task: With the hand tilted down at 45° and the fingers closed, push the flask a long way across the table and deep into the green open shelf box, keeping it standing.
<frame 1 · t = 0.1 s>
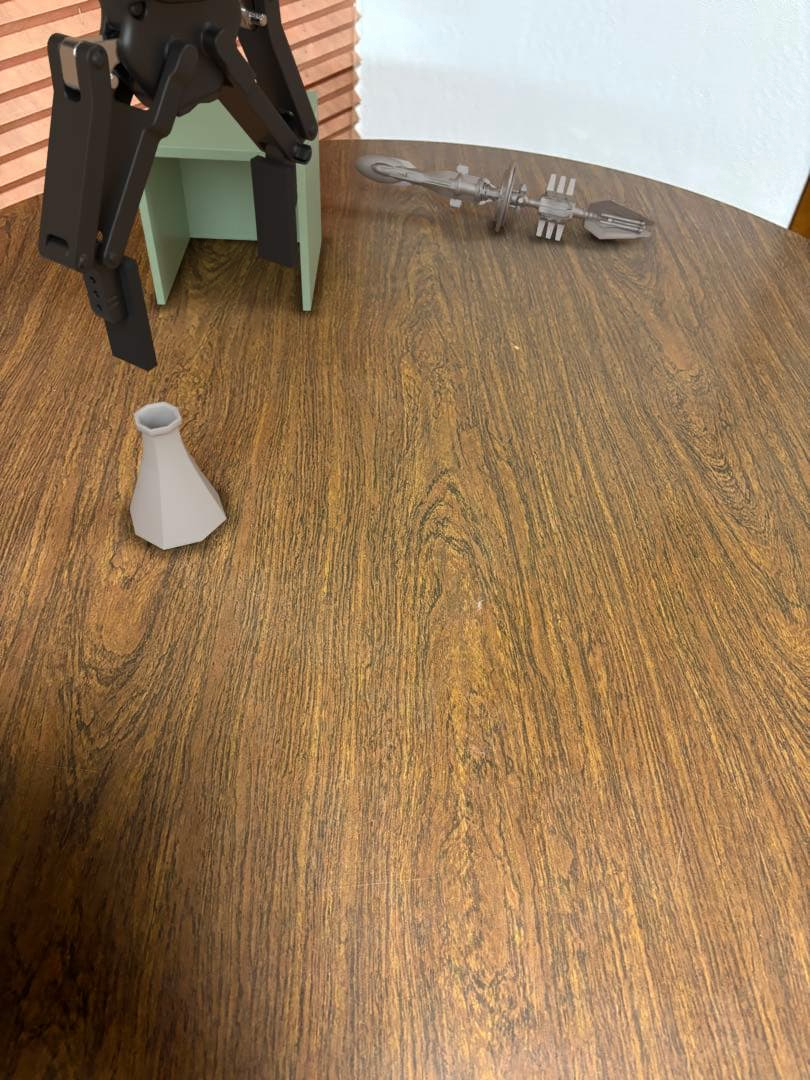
hand: (212, 307, 53), 19 cm above the table, tool pointing down, fingers open, 13 cm apart
flask: (178, 518, 67), on the table
green open shelf box: (243, 272, 92), on the table
spaceship: (498, 230, 102), on the table
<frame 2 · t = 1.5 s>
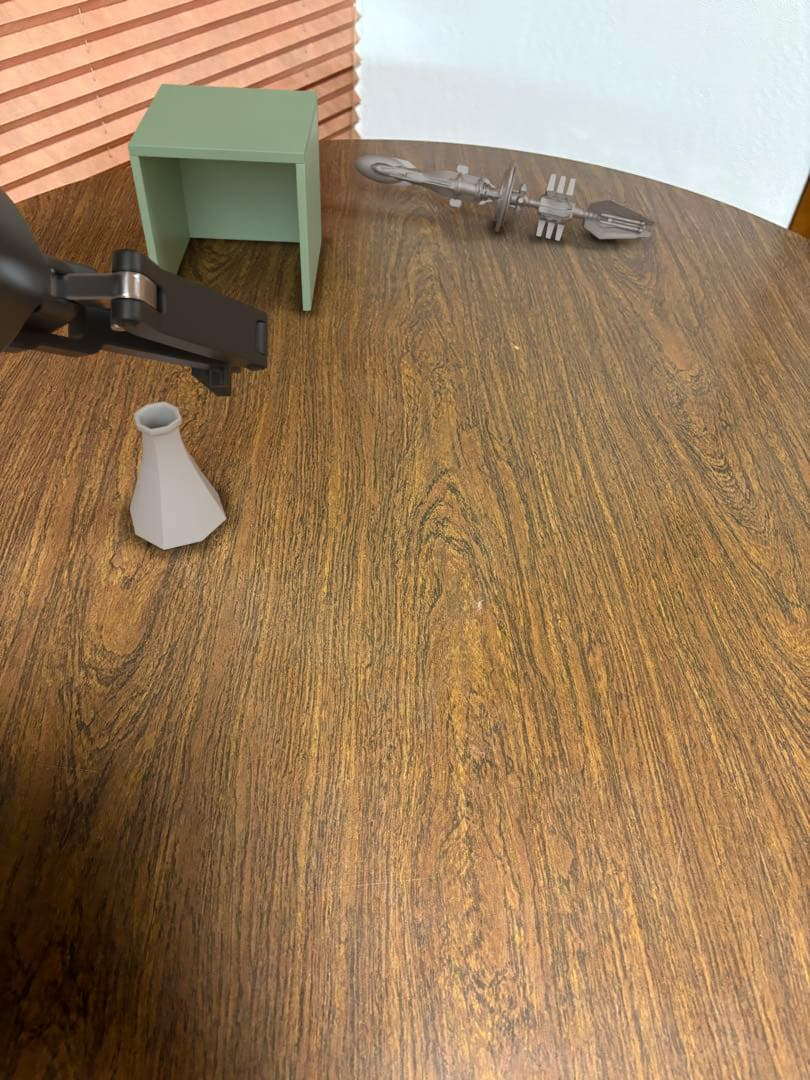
hand: (97, 369, 46), 20 cm above the table, tool tilted 45°, fingers open, 13 cm apart
nothing on the table moved.
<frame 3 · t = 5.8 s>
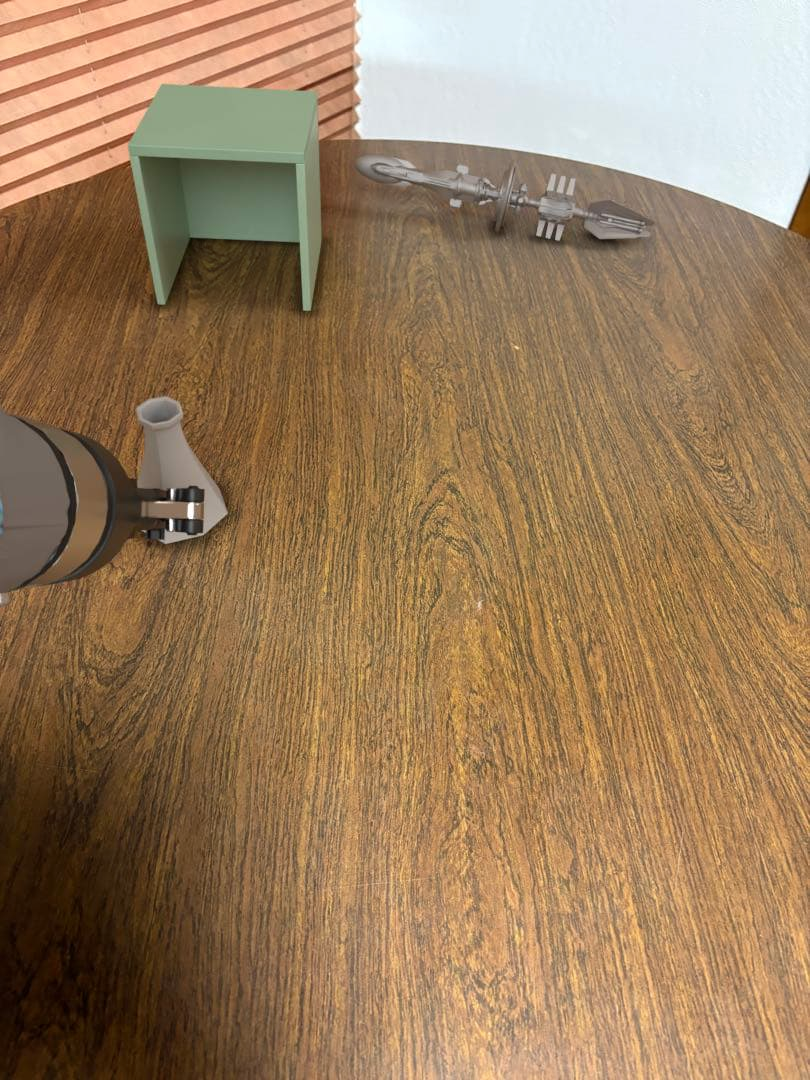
hand: (164, 509, 63), 3 cm above the table, tool tilted 45°, fingers closed
flask: (180, 512, 68), on the table, touching gripper
everything else where it was.
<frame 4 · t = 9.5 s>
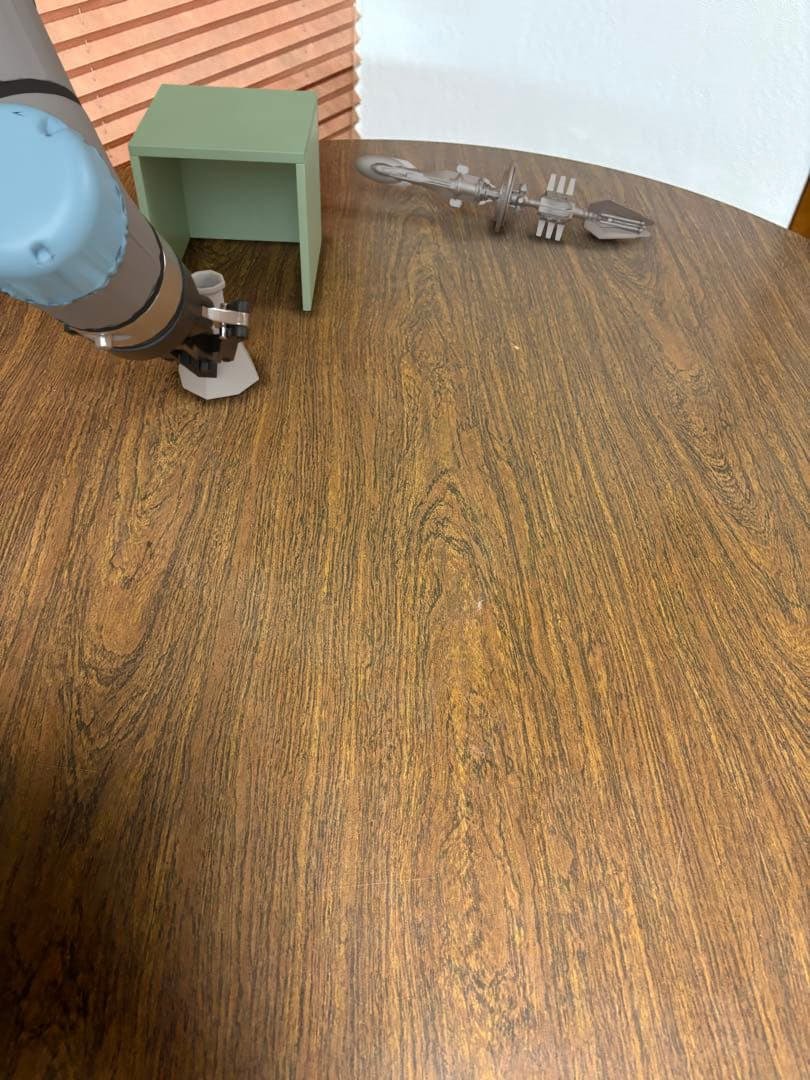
hand: (208, 362, 75), 4 cm above the table, tool tilted 45°, fingers closed
flask: (219, 378, 80), on the table, touching gripper
everything else where it was.
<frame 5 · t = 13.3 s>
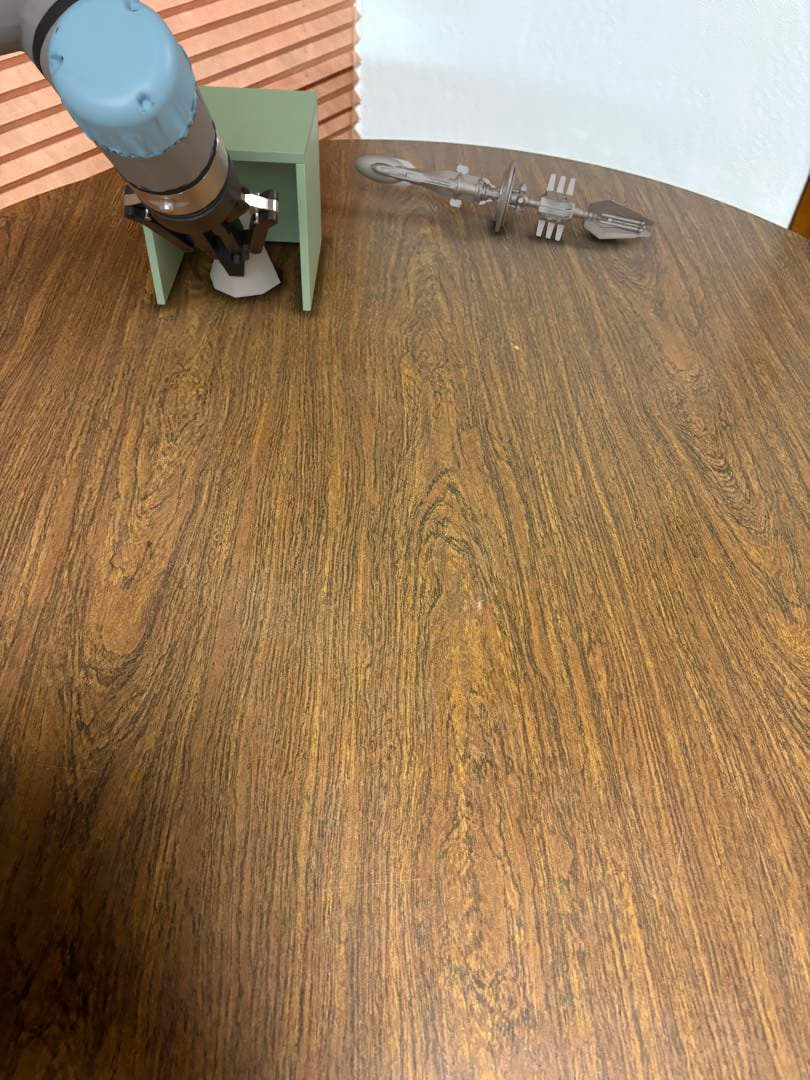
hand: (237, 262, 87), 4 cm above the table, tool tilted 45°, fingers closed
flask: (245, 282, 91), on the table, touching gripper
everything else where it was.
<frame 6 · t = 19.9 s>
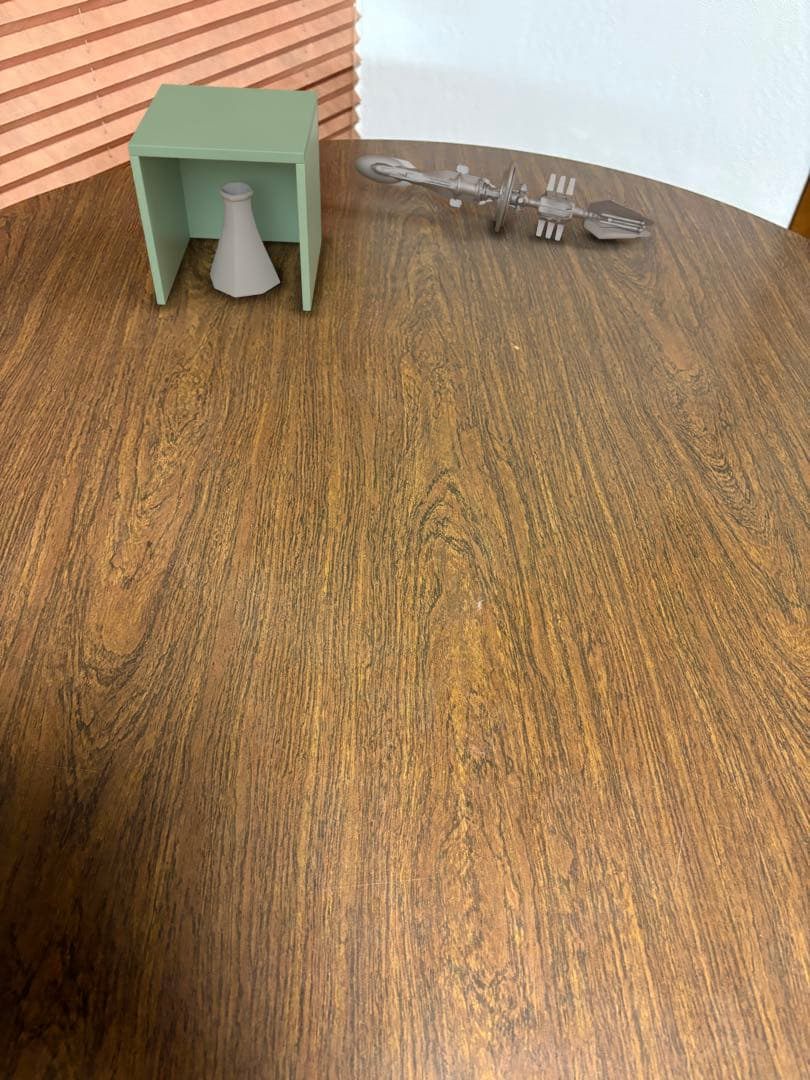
flask: (245, 282, 91), on the table
everything else where it was.
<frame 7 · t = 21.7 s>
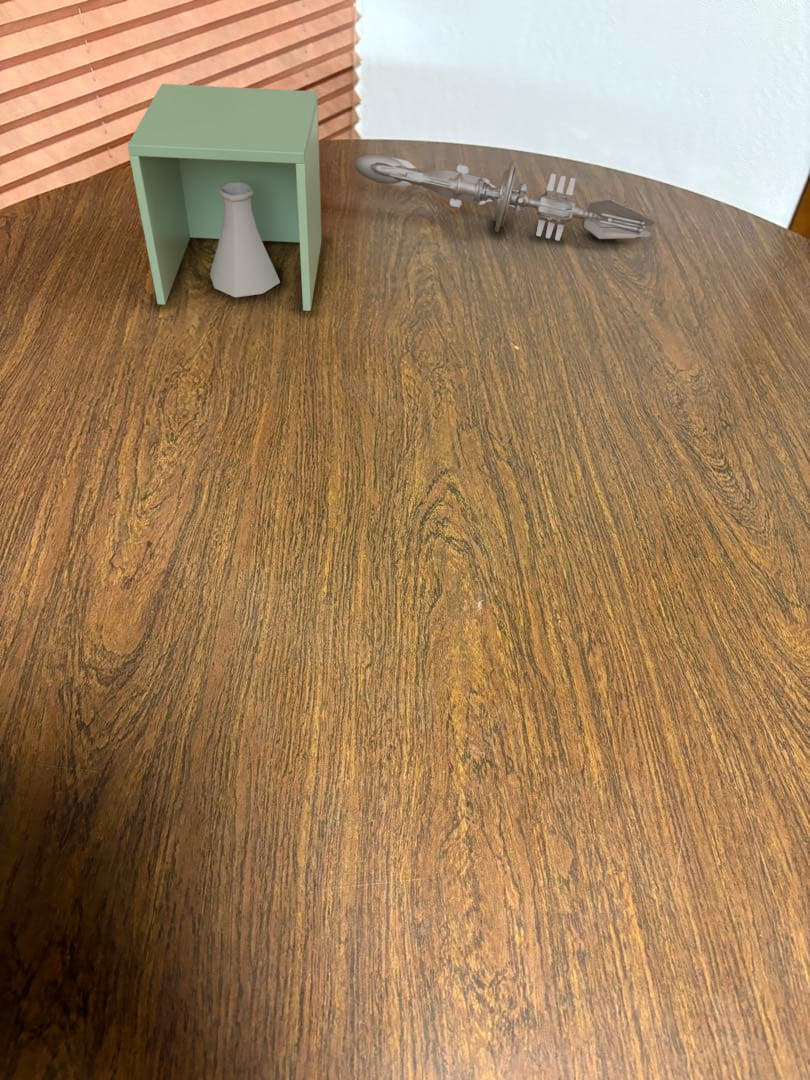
nothing on the table moved.
at the end: flask inside the target area on the green open shelf box (1.7 cm from its centre), point 0.0 cm above the green open shelf box's base; flask tilted 0° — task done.
